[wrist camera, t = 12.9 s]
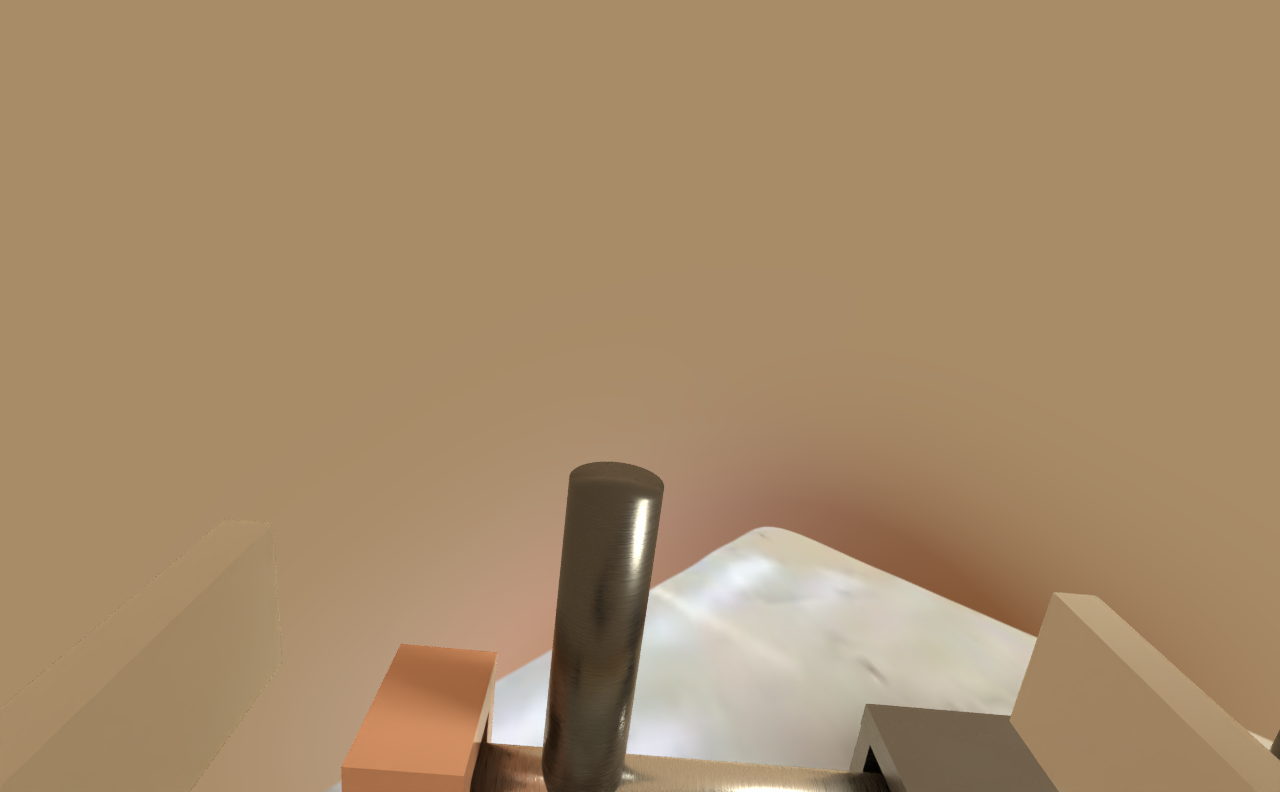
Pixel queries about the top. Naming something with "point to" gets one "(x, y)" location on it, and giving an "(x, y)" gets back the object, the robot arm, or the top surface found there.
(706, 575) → the top surface
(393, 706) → the socket
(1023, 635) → the top surface
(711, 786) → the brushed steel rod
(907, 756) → the box on wooden plank
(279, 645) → the robot arm
